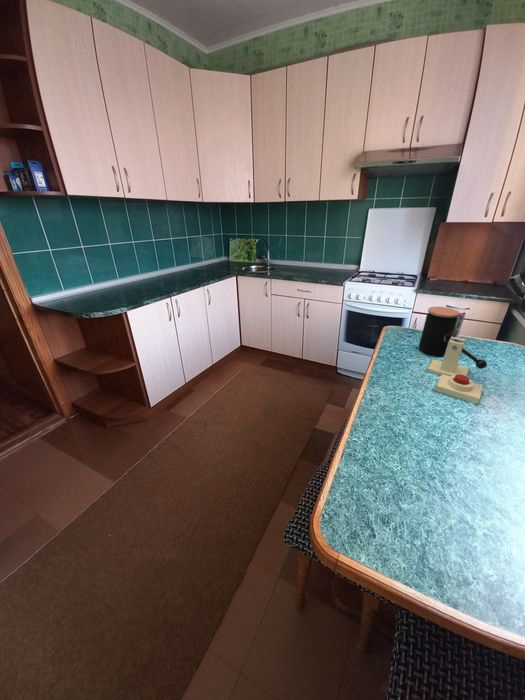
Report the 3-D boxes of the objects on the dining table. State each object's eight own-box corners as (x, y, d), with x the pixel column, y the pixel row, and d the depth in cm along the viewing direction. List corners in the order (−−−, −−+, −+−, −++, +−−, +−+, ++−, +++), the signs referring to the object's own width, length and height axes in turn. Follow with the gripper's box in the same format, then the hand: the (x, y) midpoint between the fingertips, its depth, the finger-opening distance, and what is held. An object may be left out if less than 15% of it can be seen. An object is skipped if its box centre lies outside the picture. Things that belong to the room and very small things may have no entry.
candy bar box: (423, 343, 129) (432, 308, 122) (427, 340, 132) (436, 305, 125) (451, 351, 122) (463, 314, 114) (454, 347, 125) (466, 311, 118)
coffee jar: (443, 359, 116) (455, 317, 107) (414, 352, 122) (424, 311, 114) (449, 350, 123) (462, 310, 114) (422, 343, 129) (432, 304, 121)
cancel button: (468, 381, 95) (470, 376, 94) (467, 386, 92) (468, 382, 92) (454, 377, 97) (456, 372, 97) (452, 382, 95) (454, 378, 94)
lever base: (468, 371, 107) (479, 340, 102) (464, 382, 101) (476, 349, 95) (432, 362, 114) (440, 332, 108) (426, 371, 108) (435, 340, 102)
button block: (480, 391, 96) (484, 381, 94) (477, 404, 90) (481, 393, 88) (440, 379, 103) (443, 369, 101) (434, 390, 97) (437, 380, 95)
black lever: (482, 368, 102) (490, 362, 99) (481, 371, 99) (489, 366, 97) (449, 343, 105) (456, 337, 103) (447, 346, 103) (455, 340, 101)
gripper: (517, 250, 80) (495, 310, 87) (585, 254, 72) (554, 319, 80) (518, 247, 85) (497, 304, 93) (581, 250, 77) (553, 312, 85)
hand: (524, 311), depth 86 cm, fingers closed
